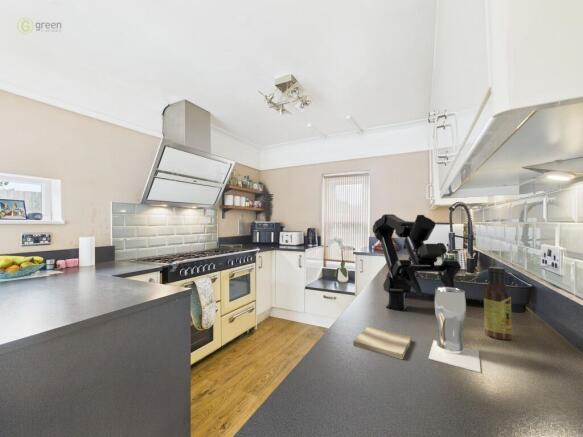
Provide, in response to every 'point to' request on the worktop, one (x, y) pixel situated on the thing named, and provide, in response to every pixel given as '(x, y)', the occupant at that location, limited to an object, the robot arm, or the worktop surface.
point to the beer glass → (450, 318)
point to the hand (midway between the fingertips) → (436, 293)
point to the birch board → (383, 342)
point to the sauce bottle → (497, 305)
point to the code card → (457, 358)
